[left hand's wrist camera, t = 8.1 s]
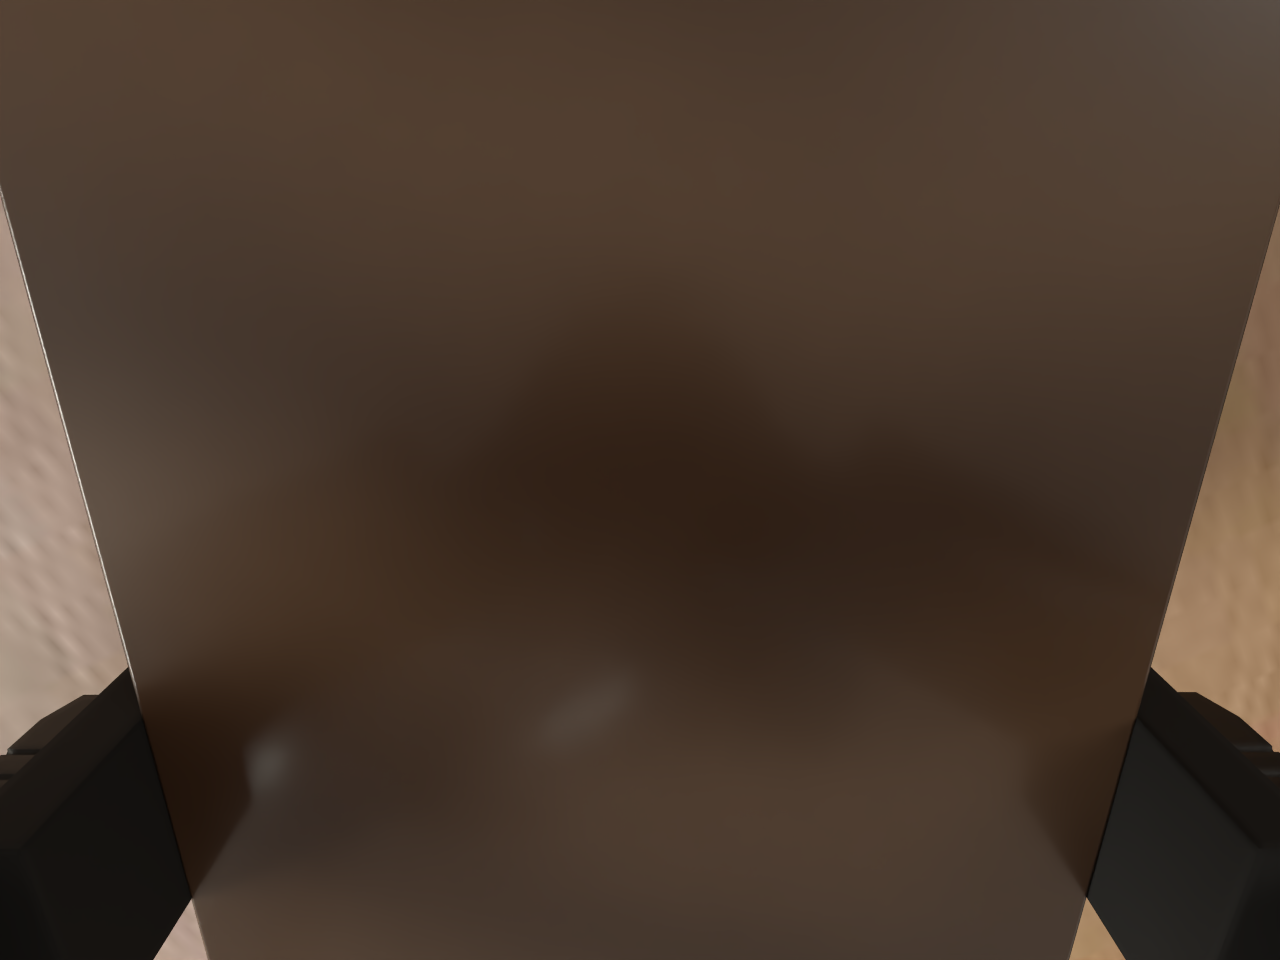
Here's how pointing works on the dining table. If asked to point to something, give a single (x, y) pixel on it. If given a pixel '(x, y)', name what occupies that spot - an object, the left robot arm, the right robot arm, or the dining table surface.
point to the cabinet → (639, 446)
